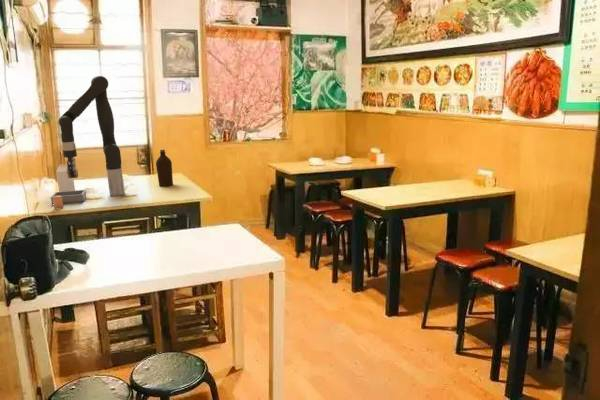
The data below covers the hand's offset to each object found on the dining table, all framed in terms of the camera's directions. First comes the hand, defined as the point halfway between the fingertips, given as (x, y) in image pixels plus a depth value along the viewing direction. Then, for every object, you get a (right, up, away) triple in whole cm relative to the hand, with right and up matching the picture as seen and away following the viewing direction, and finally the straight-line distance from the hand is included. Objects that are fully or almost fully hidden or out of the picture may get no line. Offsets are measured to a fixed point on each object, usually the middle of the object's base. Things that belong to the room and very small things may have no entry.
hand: (73, 176), depth 306 cm
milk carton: (-17, -10, +29) cm, 35 cm away
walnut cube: (0, -1, 0) cm, 1 cm away
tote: (-3, -15, +3) cm, 16 cm away
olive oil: (+47, -5, +39) cm, 61 cm away
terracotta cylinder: (-2, -19, -13) cm, 24 cm away
